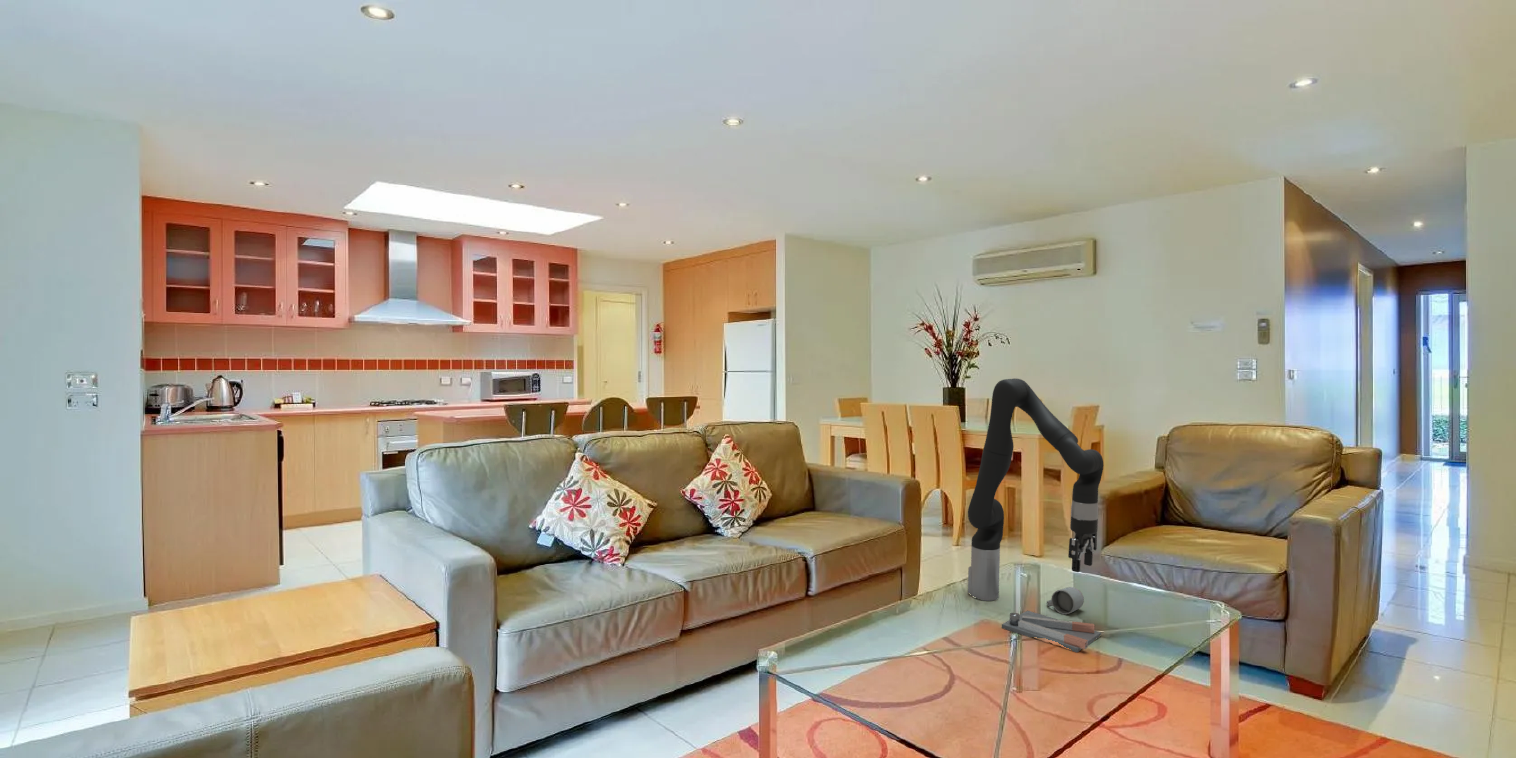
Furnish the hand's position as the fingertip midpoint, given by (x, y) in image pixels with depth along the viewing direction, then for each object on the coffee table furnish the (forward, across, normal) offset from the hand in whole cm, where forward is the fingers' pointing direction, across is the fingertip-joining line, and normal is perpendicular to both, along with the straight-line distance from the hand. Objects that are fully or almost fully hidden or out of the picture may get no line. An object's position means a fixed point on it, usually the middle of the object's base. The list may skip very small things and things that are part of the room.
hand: (1082, 568), depth 225 cm
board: (+18, +11, -4) cm, 21 cm away
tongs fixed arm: (+17, +16, -3) cm, 23 cm away
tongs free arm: (+17, +9, -3) cm, 19 cm away
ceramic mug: (+19, -9, -9) cm, 23 cm away
